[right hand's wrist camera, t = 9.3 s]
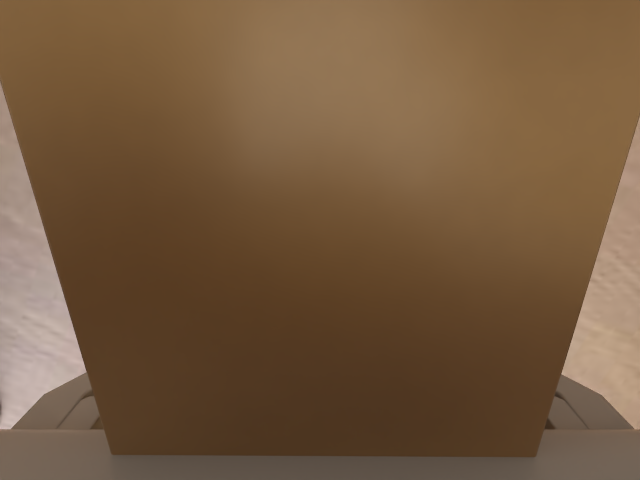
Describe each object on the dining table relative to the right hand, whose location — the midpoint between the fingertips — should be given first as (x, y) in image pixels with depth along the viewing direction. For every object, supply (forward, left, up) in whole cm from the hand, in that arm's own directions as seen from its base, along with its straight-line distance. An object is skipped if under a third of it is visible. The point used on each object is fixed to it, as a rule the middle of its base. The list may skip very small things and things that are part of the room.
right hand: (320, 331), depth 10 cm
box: (-2, +9, -7) cm, 12 cm away
